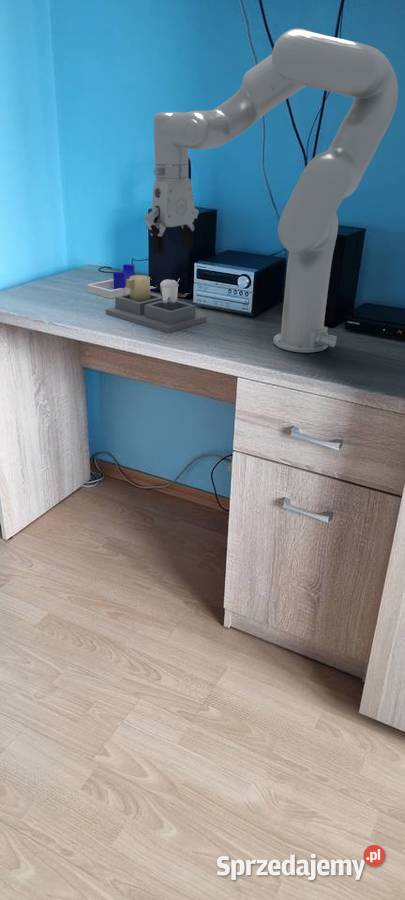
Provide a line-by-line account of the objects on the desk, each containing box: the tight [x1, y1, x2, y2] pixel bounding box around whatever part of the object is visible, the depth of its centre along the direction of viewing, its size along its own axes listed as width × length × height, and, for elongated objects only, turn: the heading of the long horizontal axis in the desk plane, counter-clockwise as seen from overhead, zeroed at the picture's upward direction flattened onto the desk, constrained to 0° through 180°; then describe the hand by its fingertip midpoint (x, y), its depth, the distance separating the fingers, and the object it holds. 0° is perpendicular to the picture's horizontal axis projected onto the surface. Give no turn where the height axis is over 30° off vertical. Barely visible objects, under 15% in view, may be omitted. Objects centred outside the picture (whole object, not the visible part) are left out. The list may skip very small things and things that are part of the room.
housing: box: [105, 274, 207, 334], centre depth 167 cm, size 22×14×9 cm, turn 50°
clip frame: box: [86, 278, 157, 299], centre depth 192 cm, size 10×18×2 cm, turn 140°
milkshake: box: [159, 277, 180, 311], centre depth 163 cm, size 4×5×10 cm
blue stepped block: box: [112, 263, 136, 290], centre depth 191 cm, size 12×4×6 cm, turn 171°
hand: (173, 250), depth 158 cm, fingers open, 9 cm apart
